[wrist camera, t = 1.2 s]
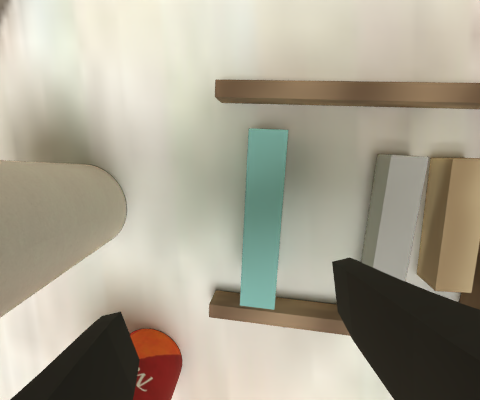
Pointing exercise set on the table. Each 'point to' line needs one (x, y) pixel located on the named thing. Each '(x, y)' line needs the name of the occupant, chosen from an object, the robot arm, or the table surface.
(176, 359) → the paper cup
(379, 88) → the frame
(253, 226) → the long teal post
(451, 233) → the plywood offcut
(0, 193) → the coffee cup
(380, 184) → the grey board offcut
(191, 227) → the table surface
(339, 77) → the table surface
